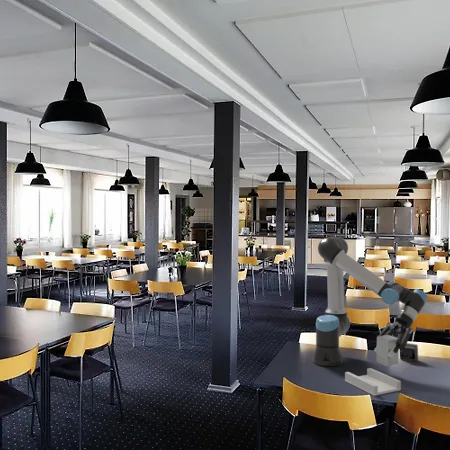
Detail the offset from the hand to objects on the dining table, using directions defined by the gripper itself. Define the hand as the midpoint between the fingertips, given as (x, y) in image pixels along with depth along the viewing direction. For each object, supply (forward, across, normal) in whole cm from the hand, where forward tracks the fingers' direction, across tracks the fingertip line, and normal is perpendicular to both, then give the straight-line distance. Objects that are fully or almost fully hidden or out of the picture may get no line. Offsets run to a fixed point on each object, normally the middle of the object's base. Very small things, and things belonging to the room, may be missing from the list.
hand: (382, 354), depth 217 cm
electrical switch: (-15, +10, -30) cm, 35 cm away
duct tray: (+16, -6, +2) cm, 17 cm away
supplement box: (+1, 0, -6) cm, 6 cm away
